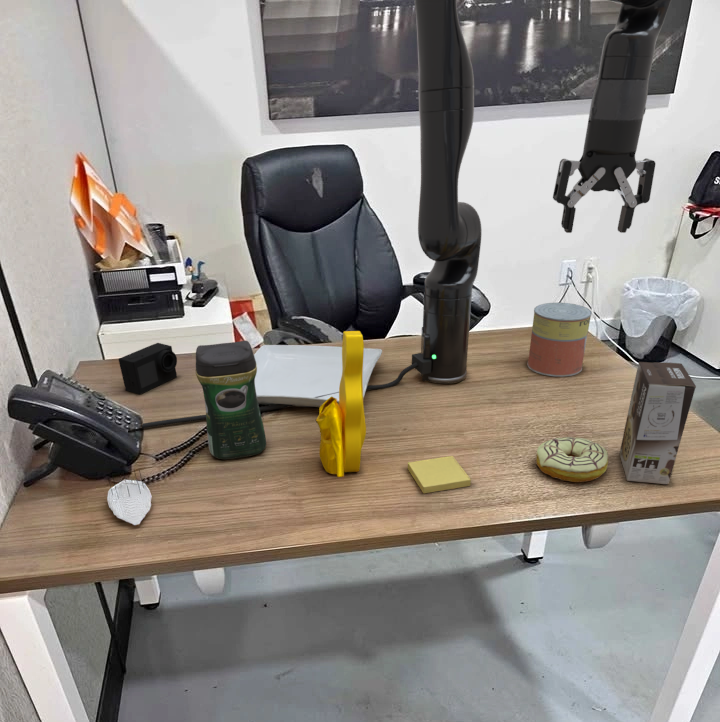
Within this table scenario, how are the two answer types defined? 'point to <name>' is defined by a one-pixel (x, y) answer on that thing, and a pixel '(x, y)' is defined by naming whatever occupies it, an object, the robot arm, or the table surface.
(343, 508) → the table surface
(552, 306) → the canned food
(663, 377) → the coffee box
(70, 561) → the table surface
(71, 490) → the table surface
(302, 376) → the square plate
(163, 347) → the digital camera
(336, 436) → the figure statuette
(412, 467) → the sticky note pad
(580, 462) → the decorated donut
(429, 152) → the robot arm
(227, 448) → the coffee jar
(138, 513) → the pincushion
